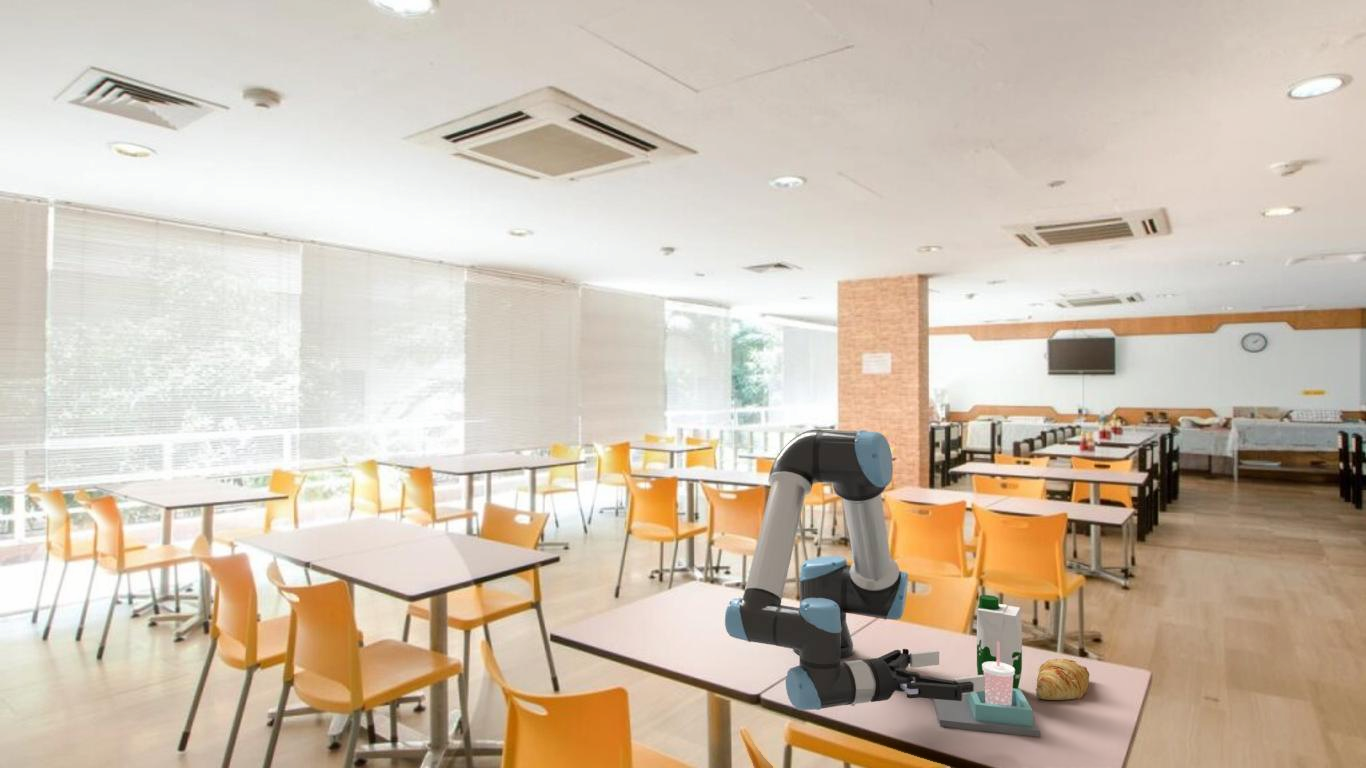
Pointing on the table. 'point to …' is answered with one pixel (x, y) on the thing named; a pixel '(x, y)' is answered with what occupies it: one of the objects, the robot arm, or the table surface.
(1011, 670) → the beverage cup
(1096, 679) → the table surface
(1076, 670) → the croissant
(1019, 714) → the dock
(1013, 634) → the milk carton
